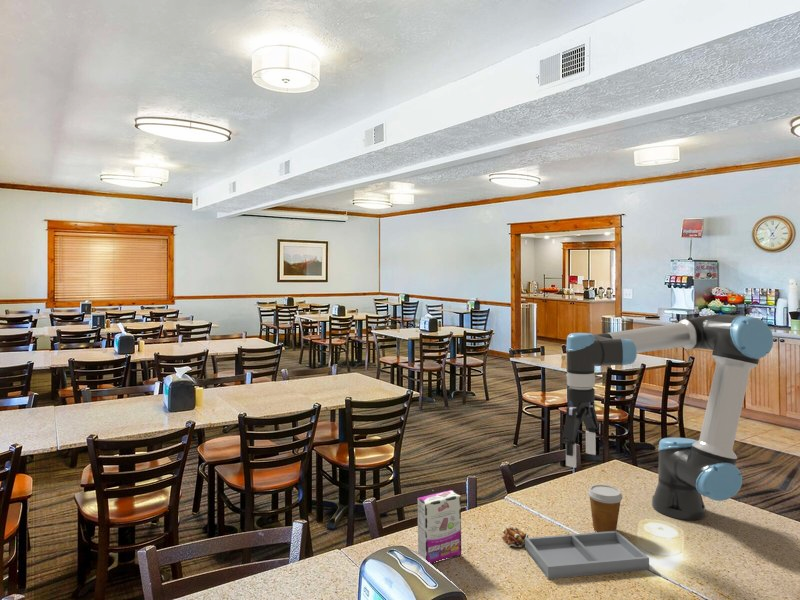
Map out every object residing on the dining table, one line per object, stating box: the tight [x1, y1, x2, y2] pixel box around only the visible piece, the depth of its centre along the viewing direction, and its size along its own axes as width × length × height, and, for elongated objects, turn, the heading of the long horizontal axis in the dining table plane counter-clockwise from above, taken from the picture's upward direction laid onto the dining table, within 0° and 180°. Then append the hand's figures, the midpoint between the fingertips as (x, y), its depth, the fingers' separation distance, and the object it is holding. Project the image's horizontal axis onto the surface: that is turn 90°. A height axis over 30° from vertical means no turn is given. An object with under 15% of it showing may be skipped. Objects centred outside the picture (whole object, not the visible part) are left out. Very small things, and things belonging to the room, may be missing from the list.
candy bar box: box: [416, 489, 462, 565], centre depth 137 cm, size 11×5×16 cm, turn 117°
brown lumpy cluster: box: [501, 525, 529, 548], centre depth 147 cm, size 7×12×4 cm, turn 13°
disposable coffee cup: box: [587, 484, 623, 532], centre depth 152 cm, size 10×10×12 cm
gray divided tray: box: [524, 530, 650, 579], centre depth 136 cm, size 27×15×3 cm, turn 99°
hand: (581, 459), depth 148 cm, fingers open, 13 cm apart
